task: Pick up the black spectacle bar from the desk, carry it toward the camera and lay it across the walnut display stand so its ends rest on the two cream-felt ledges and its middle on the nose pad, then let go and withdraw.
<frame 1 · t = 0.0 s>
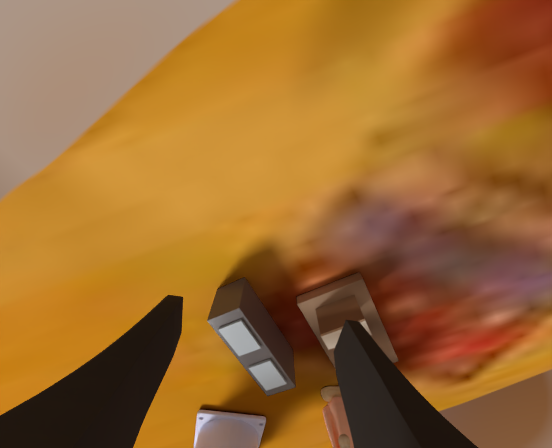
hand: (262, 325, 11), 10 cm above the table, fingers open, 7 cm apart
grandmother figurine: (336, 398, 30), on the table
spectacle bar: (257, 319, 25), on the table
display stand: (348, 326, 25), on the table
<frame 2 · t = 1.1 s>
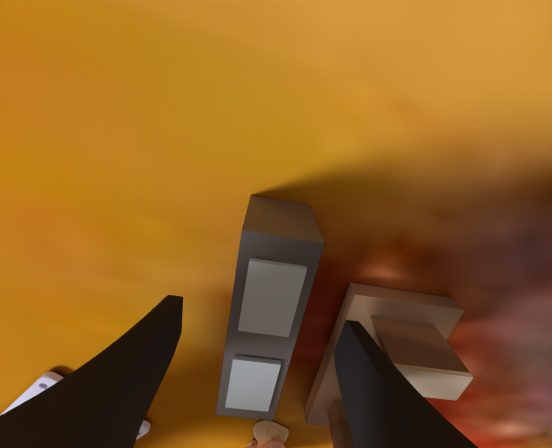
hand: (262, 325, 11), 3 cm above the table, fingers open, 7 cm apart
grandmother figurine: (265, 438, 20), on the table
spectacle bar: (263, 283, 14), on the table
display stand: (369, 359, 16), on the table
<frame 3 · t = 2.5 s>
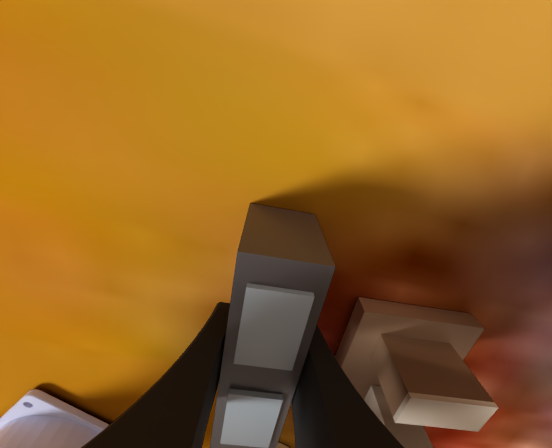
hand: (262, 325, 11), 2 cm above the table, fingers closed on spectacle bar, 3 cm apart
spectacle bar: (263, 301, 13), on the table, touching gripper
display stand: (378, 377, 15), on the table
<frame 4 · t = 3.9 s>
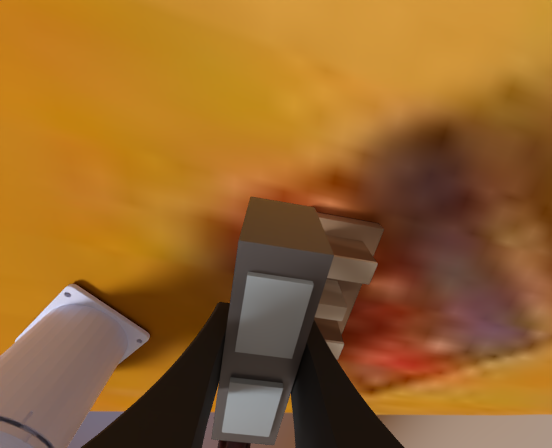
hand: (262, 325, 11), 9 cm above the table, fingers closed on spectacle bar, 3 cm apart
spectacle bar: (264, 294, 13), point 7 cm above the table, touching gripper
display stand: (320, 277, 21), on the table
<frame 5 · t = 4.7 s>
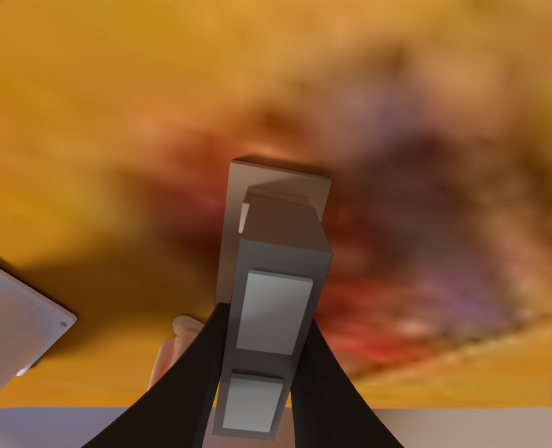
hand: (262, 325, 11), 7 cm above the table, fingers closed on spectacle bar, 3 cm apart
grandmother figurine: (188, 338, 22), on the table
spectacle bar: (264, 292, 13), point 5 cm above the table, touching gripper
display stand: (266, 245, 18), on the table
when the fingers open (7 cm above the table, at t = 5.5 s): spectacle bar stays where it is, resting on display stand.
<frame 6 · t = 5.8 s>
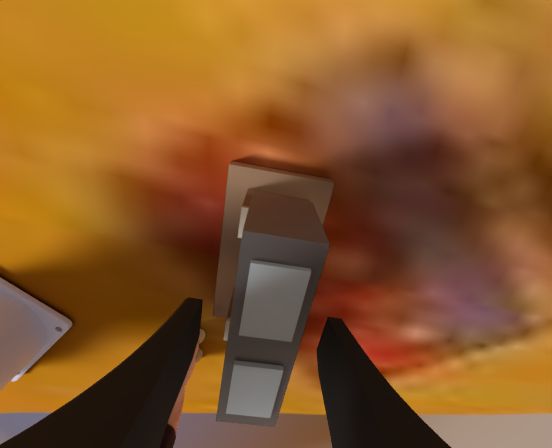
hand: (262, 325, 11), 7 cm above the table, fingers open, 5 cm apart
grandmother figurine: (187, 344, 21), on the table
spectacle bar: (265, 285, 14), point 4 cm above the table, touching display stand
display stand: (266, 249, 17), on the table
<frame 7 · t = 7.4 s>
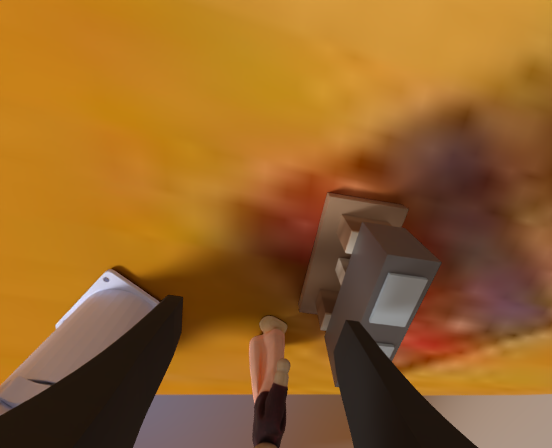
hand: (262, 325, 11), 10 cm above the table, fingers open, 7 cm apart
grandmother figurine: (269, 335, 26), on the table
spectacle bar: (360, 287, 18), point 4 cm above the table, touching display stand
display stand: (345, 259, 22), on the table
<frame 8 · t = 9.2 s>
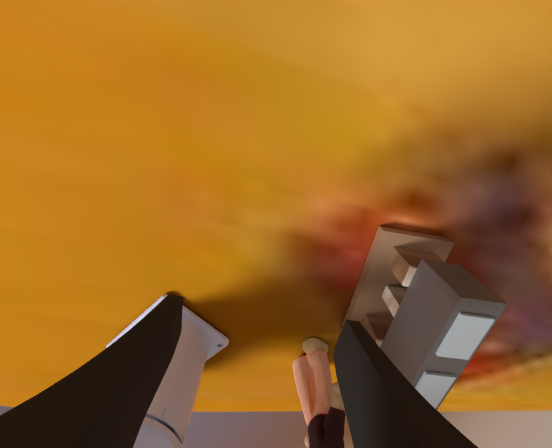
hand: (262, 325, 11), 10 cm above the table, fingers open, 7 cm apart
grandmother figurine: (310, 355, 27), on the table
spectacle bar: (412, 317, 20), point 4 cm above the table, touching display stand
display stand: (390, 285, 23), on the table
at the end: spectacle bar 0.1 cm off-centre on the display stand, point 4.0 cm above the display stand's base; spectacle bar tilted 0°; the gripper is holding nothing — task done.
